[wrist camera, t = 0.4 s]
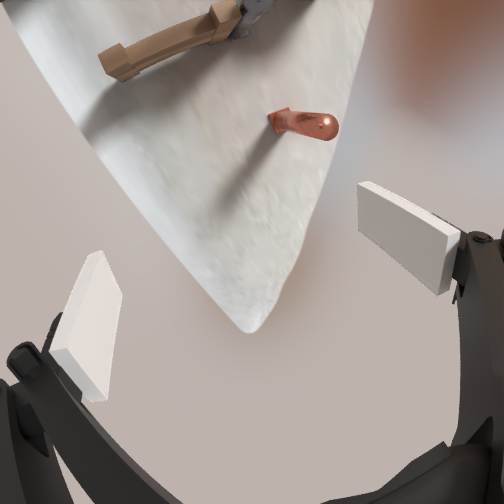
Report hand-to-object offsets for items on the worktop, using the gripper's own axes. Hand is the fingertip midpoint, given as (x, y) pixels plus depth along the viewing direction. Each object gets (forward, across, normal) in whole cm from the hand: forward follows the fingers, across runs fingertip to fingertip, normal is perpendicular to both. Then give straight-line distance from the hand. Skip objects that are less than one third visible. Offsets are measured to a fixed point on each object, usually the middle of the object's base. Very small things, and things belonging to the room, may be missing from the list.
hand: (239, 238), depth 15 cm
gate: (+26, -1, +14) cm, 29 cm away
